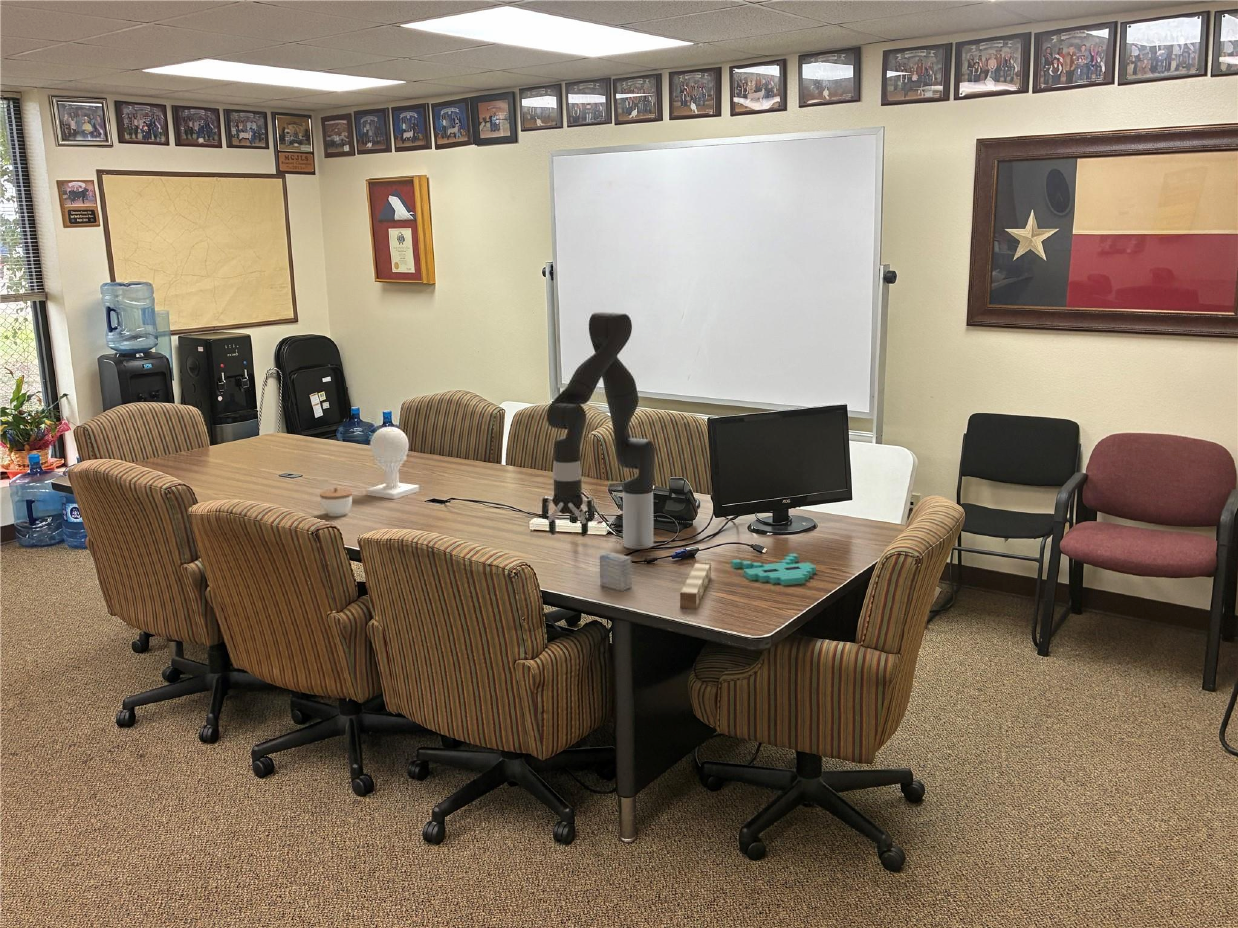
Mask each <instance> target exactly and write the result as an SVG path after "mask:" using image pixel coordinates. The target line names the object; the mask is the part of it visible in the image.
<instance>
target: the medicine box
mask: <svg viewBox="0 0 1238 928" xmlns="http://www.w3.org/2000/svg"><path fill="white" fill-rule="evenodd" d="M599 582H600V583H599V585H600V586H602V587H605V588H609V589H613V590H616V591H619V592H623V591H626V590H629V589H631V588H632V584H633V582H632V557H631V556H627V555H624V554H621V553H620V554H619V553H616V552H612V551H611V552H609V551H608V552H606V553H603V554H601V555H599Z"/></svg>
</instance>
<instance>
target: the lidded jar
mask: <svg viewBox="0 0 1238 928" xmlns="http://www.w3.org/2000/svg"><path fill="white" fill-rule="evenodd" d="M319 497H320V498H319V499H320V503H321V507H322V510H323V511H324V512H325V513H326V514H327V515H328V516H329V517H342V516H346V515H347V514H348V512H349V511H350V509H351V508H352V504H353V491H352V489H347V488H338V487H334V488H331V489H327V490H324V491H321V492H320V493H319Z"/></svg>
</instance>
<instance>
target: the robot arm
mask: <svg viewBox="0 0 1238 928" xmlns="http://www.w3.org/2000/svg"><path fill="white" fill-rule="evenodd" d="M632 331H633V323H632V319H631V317H630V316H629V315H628V314H627V313H625V312H624V313H623V312H618V311H616V312H615V311H605V310H604V311H602V310H601V311H594V312H593V313H592V314H591V315H590V317H589V321H588V333H589V337H590V341H591V345H592V348H593V350H594V351H593V352H594V353H593V354H592V355H590V357H588V358H587V359H586V360H584V361H583V362H582V363H580V365H578V367H577V368H576V370H574V373H573V374H572V376H571V378H570V379H569V382H568V384H567V386H566V387H565V388H564V389H563V390H562V391H561V392H560V393H559V394H557V396H556V397H555V398H554V399H553V401H552V402H551V403H550V404H549V406H548V408H547V411H546V422H547V424H548V425H549V427H551V428H553V429H558V430H567V434H566V436H564V437H559V438H557V439H555V440H554V442H553V467H552V468H553V470H552V478H553V497H550V496H549V495H545V496H544V497H543V498H542V499H541V518H542V520H547V521H548V532H549V533H550V535H551V536H555V535H556V532H557V529H556V528H557V526H556V525H557V523H556V521H557V520H556V517H557V516H558V515H559V514H561V515H566V514H567V515H568V514H569V515H575V516H576V517H577V518H578V519H579V520H580V522H581V525H580V526H581V527H580V529H581V537H584V538H585V537H586V536H587V534H588V533H589V523H590V522H592V521H594V519H595V518H596V517H595V516H596V515H595V513H596V512H595V501H594V500H595V499H594V498H593V497H590V498H583V491H582V486H583V485H582V484H583V483H582V463H581V442H582V440H583V439H582V438H583V434H584V430H585V426H586V424H587V423H586V422H587V414H586V413H587V412H586V411H585V409H584V407H583V405H584V404H587V403H588V402H589V401H590V399H592V395H593V394H594V392H595V390H596V388H597V386H598V385H599V382H600V380H601V379H602V382H603V389H604V394H605V398H606V399H605V400H606V403H607V406H608V410H609V416H610V419H611V424H612V432H613V440H614V446H615V447H614V448H615V454H616V456H615V457H616V459H617V462H618V465H619V466H620V467H622V468H624V469H631V470H632V469H633V470H638V475H637V476H636V477H632V478H628V479H626V480H624V481H623V483H622V531H623V532H622V535H623V536H622V537H623V539H622V541H623V545H622V546H623V547H624V548H626V549H631V550H645V549H650V548H652V547H653V546H654V482H655V469H656V468H655V466H656V447H655V444H654V441H653V440H650V439H646V438H638V437H637V438H636V437H632V436H631V435H630V430H629V429H630V428H629V427H630V423H631V420H632V419H633V416H634V414H635V412H636V410H637V408H638V405H639V402H640V400H639V399H640V398H639V392H638V389H637V388H638V387H637V384H636V381H635V378H634V376H633V374H631V372H630V370H629V369H628V368H627V367H626V366H625V365H624V364H623V362H622V361H621V359H620V358H619V357H618V355H619V354H620V353H621V352H622V350H623V349H624V347H625V346H626V344H627V343H628V341H629V340H630V338H631V335H632ZM551 504H553V505H554V507H555V508H554V510H553V511H552V513H551V514H550V513H549V511H550V505H551ZM582 505H584V507H585V508H587V515H586V513H585V511H584V510H583V508H582Z"/></svg>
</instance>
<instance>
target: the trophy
mask: <svg viewBox="0 0 1238 928" xmlns="http://www.w3.org/2000/svg"><path fill="white" fill-rule="evenodd" d="M369 445H370V451H371V454H372V456H373V458H374V461H375V463H376V464H378V465H379V467H380V468H382V469H383V470H384V482H385V483H383V484H379V485H376V486H374V487H370V488H367V489H365V494H366V496H371V497H378V498H385V499H391V500H396V499H399V498H402V497H405V496H408V495H411V494H414V493H417V492H419V491H420V485H418V484H417V485H416V484H409V483H401V482H400V480H399V479H400V478H399V469H400V467H402V465H403V464H404V462H405V461H406V460H407V459H408V457H407V454H408V451H409V447H410V446H409V445H410V443H409V439H408V437H407V435H406V434H405V432H403V430H401V429H399V428H397V427H394V426H384V427H381V428H379V429H378V430H377V431H375V433H374V434H373V435H372V436H371V439H370V444H369Z"/></svg>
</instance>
